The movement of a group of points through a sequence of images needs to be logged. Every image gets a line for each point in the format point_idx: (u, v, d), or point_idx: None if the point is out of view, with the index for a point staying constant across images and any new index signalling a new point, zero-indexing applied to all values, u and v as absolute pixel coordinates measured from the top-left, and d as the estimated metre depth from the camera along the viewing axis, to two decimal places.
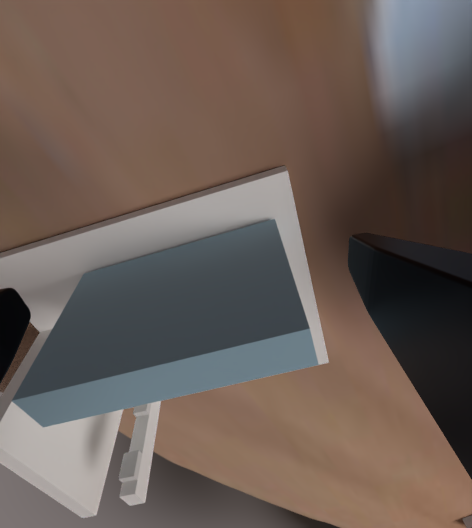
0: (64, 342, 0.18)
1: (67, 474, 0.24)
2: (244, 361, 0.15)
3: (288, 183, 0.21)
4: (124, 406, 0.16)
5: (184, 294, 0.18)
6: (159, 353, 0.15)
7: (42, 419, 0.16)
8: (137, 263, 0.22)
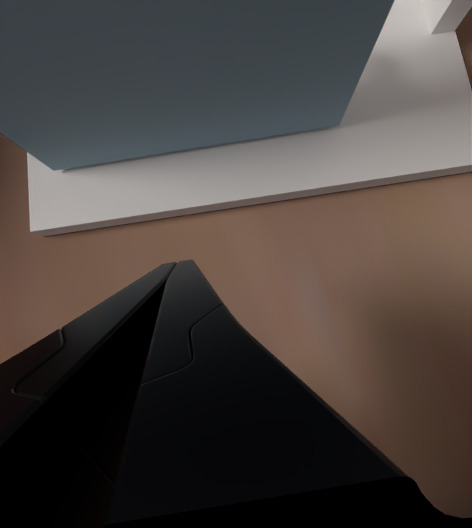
0: None
1: None
2: None
3: (31, 215, 0.16)
4: None
5: (128, 68, 0.11)
6: None
7: None
8: (248, 131, 0.15)
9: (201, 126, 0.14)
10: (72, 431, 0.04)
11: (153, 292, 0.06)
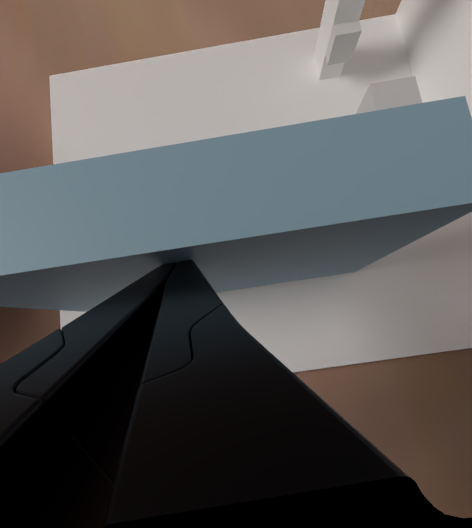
0: (374, 244, 0.10)
1: None
2: None
3: None
4: (259, 139, 0.07)
5: None
6: (159, 258, 0.08)
7: (455, 123, 0.07)
8: (270, 282, 0.16)
9: (227, 286, 0.15)
10: (72, 432, 0.04)
11: (153, 292, 0.06)
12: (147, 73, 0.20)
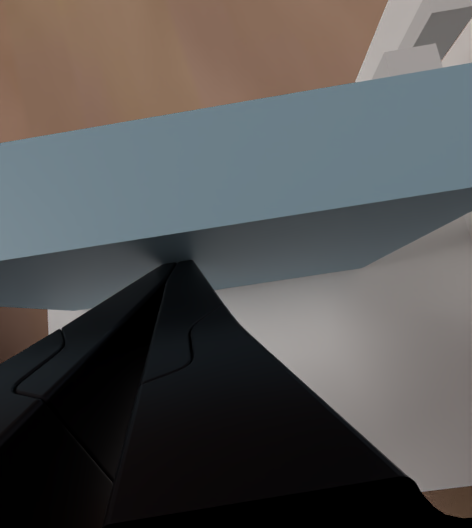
0: (386, 235, 0.09)
1: None
2: None
3: None
4: (258, 109, 0.06)
5: None
6: (144, 248, 0.07)
7: None
8: (270, 279, 0.15)
9: (224, 283, 0.14)
10: (72, 431, 0.04)
11: (153, 292, 0.06)
12: None
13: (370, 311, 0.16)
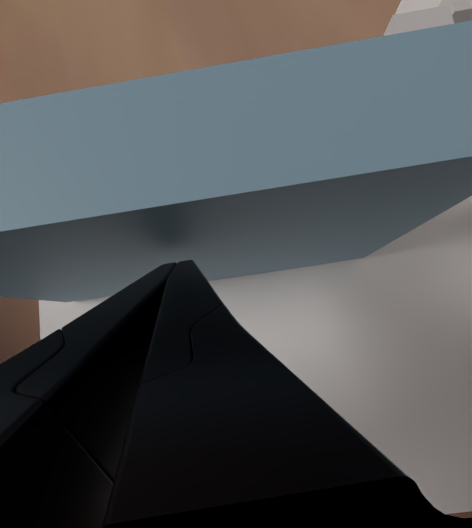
0: (394, 216, 0.08)
1: None
2: None
3: None
4: (256, 69, 0.06)
5: (150, 264, 0.10)
6: (130, 224, 0.06)
7: None
8: (269, 269, 0.14)
9: (221, 273, 0.14)
10: (72, 431, 0.04)
11: (153, 292, 0.06)
12: None
13: (378, 325, 0.15)
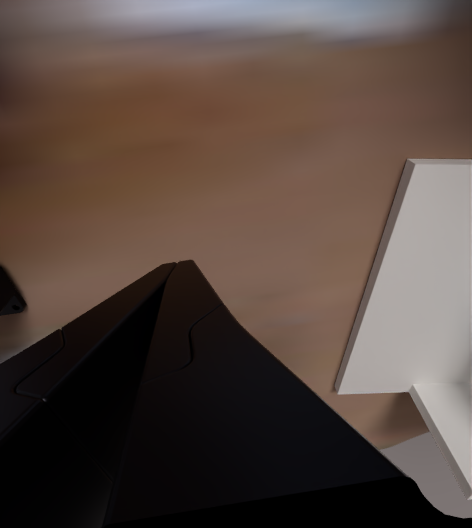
0: None
1: None
2: None
3: (428, 166, 0.19)
4: None
5: None
6: None
7: None
8: None
9: None
10: (72, 431, 0.04)
11: (153, 292, 0.06)
12: None
13: (442, 346, 0.28)
